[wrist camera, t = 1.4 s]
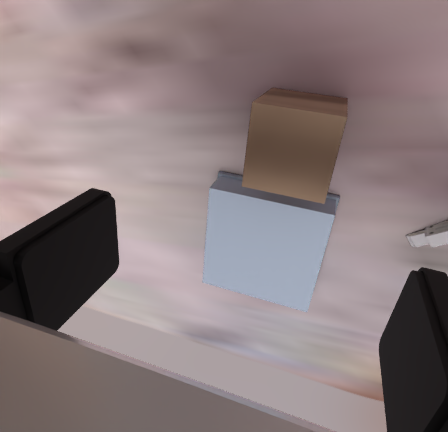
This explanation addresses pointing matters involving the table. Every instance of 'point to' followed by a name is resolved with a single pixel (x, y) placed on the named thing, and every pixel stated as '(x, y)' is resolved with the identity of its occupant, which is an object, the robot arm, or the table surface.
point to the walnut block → (294, 143)
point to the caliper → (430, 235)
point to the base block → (265, 242)
